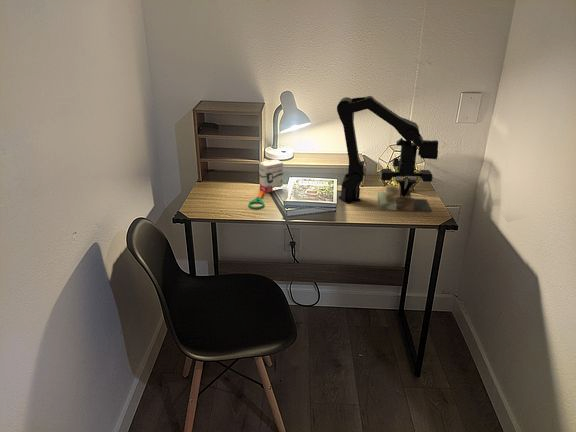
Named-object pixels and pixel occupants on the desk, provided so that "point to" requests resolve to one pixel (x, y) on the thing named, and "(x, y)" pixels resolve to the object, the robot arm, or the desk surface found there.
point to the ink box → (270, 175)
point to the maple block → (392, 193)
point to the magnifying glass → (257, 201)
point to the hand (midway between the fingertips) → (403, 196)
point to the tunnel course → (403, 203)
